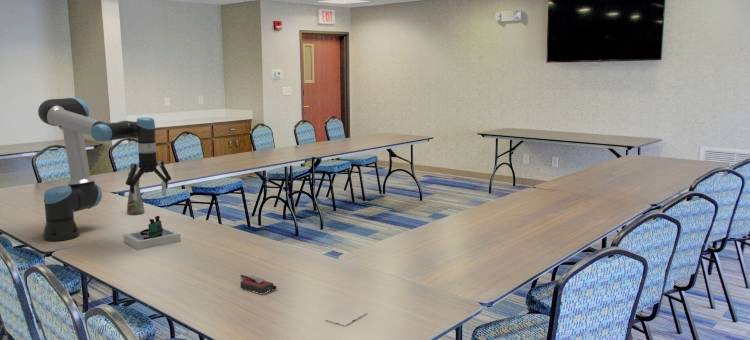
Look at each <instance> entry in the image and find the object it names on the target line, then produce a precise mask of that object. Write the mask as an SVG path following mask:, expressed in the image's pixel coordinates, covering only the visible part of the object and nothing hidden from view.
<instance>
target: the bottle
mask: <svg viewBox="0 0 750 340" xmlns="http://www.w3.org/2000/svg"><path fill="white" fill-rule="evenodd" d="M132 164H135V163H134V162H133V163H130V170H129V171H128V173H127V176H129V174H130V171H131V169H132ZM138 171H139V170H138V168H137V169H136V172H135V174H134V177H135V176H136V174H137V173H138ZM134 177H133V179H134ZM133 179H132V180H133ZM140 179H141V177H140V178H139V180H138V181H137V183H136V184H135V185H134V186H136V191H137V200H136V201H135V200H133V193H131V192H130V189H129V190H128V198H127V199H128V200H127V205H126V212H127V215H131V216H132V215H133V216H134V215H135V216H136V215H141V214H143V213H144V212H145V206H144V200H143V196H142V192H141V188H140Z"/></svg>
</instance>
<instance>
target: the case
mask: <svg viewBox="0 0 750 340" xmlns="http://www.w3.org/2000/svg"><path fill="white" fill-rule="evenodd" d="M162 228H163V233H162V235H163V236H161V237H156V238H150V239H145V240H143V238H144V237H149V236H148V235H141V233H140V232H141V231H142V230H140V231H139V230H138V231H135V232H129V233H124V234H123V243H126V244H127V245H129V246H131V247H132V248H134V249H136V250H142V249H148V248H152V247H156V246H163V245H168V244H171V243H177V242H181V233H179V232H178V231H175V230H173V229H171V228H169V227H167V226H162ZM146 232H147V234H148V232H149V231H146ZM146 232H143V233H146Z"/></svg>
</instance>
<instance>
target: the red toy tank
mask: <svg viewBox="0 0 750 340" xmlns="http://www.w3.org/2000/svg"><path fill="white" fill-rule="evenodd" d="M240 278H242V279H243V280H241V281H240V289H241V288H243V289H242V290H245V289H247V290H246V291H248V290H251V291H255V292H258V293H265V292H267V291H269V290H272V289H273V290H277V286H276V285H274V283H273V282H270V281H266V279H265V278H262V277H259V276H258V277H257V276H255V275H245V274H240ZM273 290H272V291H273ZM251 291H250V292H251ZM258 293H257V294H258ZM265 294H266V293H265Z"/></svg>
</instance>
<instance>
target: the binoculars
mask: <svg viewBox="0 0 750 340" xmlns="http://www.w3.org/2000/svg"><path fill="white" fill-rule="evenodd" d="M160 216H161V215H157V216H155V217H154V218H150V219H149V222H150V223H148V224H147V225H148V228H146V229H143V230H140V231H141V232H140V233H141V235H148V236H149V237H144V238H143V240H145V239H150V238H156V237H161V236H163V235H162V233H163V228H162V227H163V225H162V221H161V220H160V218H161V217H160ZM146 231H149V232H148V234H147V232H146ZM143 232H146V233H143Z"/></svg>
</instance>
